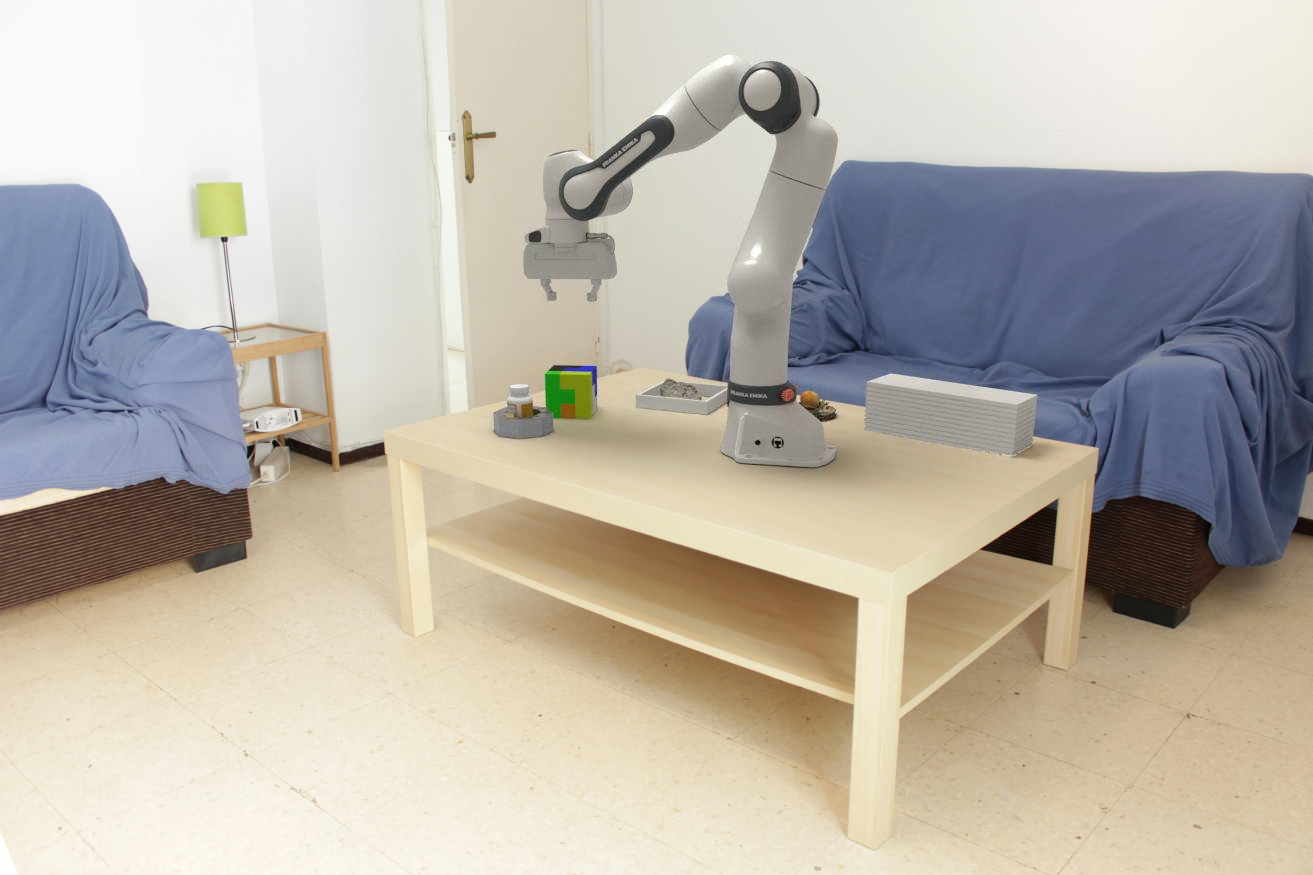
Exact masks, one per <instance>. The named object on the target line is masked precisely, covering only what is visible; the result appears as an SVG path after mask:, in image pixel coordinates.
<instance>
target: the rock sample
mask: <svg viewBox="0 0 1313 875" xmlns="http://www.w3.org/2000/svg"><path fill="white" fill-rule="evenodd" d="M663 381H664V380H663ZM676 381H677V380H674V379H672V378H668V377H667V378H666V379H665V381H664V383H663V384H662V385H661V386H662V387H661V388H660V389H659V390H660V393H661V397H672V398H682V399H692V400H702V401H703V398H702V396H701V393H700V392H697V390H696V387H695V386H693V385H691V384H687V383H685V382H686V381H683V382H676Z"/></svg>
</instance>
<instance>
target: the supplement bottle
mask: <svg viewBox="0 0 1313 875" xmlns="http://www.w3.org/2000/svg"><path fill="white" fill-rule="evenodd" d="M509 392H510V393H509V394H510V395H509V396H507V398H506V407H507V412H514V413H517V417H527V416H533V406H534V403H533V402H534V400H533V397H532V396H531V395H530V394H529V393H530V386H529V385H528V384H525V383H517V384H511V385H510V386H509Z"/></svg>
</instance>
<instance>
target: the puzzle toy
mask: <svg viewBox="0 0 1313 875" xmlns="http://www.w3.org/2000/svg"><path fill="white" fill-rule="evenodd" d="M544 391H545V392H544V393H545V394H544V396H545V407H547V408H548V409H549V410H551V411H552V412H553V419H576V420H577V419H579V420H580V419H583V420H587V419H588V420H591V419H592V418H593V416H594V414H595V413H596V412H597V410H598V366H597V365H573V364H572V365H571V364H570V365H569V364H567V365H564V364H561V365H560V364H557V365H556V364H554V365H552V366H551V367H550V368H549V369H548V370H547V371H546V372H545V373H544Z"/></svg>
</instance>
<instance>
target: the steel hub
mask: <svg viewBox="0 0 1313 875" xmlns="http://www.w3.org/2000/svg"><path fill="white" fill-rule="evenodd" d="M492 414H493V416H492V417H493V430H494V431H493V432H495V433H496V434H497V436H498V437H501V438H502V437H503V438H510V439H518V440H521V439H532V438H541V437H542V438H543V437H544V436H546V435H548V434H550V433H552V432H554V431H555V430H554V428H555V427H554V426H555V425H554V418H553V412H552V411H551V410H549V409H548V408H547V407H546V406H537V405H533V416H527V417H517V413H514V412H507V406H506V407H503V408H500V409H497V410H496V411H493V413H492Z"/></svg>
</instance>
